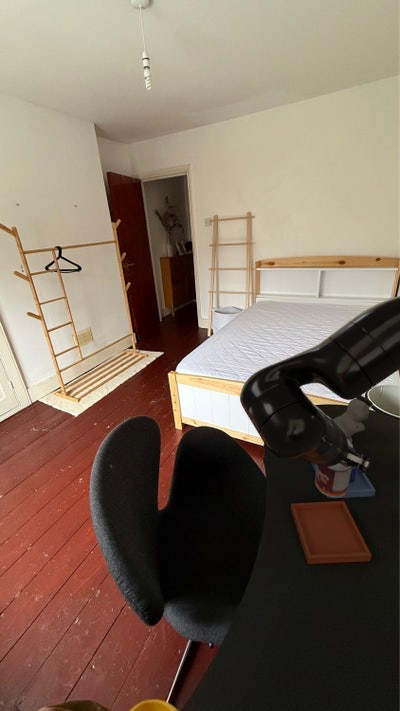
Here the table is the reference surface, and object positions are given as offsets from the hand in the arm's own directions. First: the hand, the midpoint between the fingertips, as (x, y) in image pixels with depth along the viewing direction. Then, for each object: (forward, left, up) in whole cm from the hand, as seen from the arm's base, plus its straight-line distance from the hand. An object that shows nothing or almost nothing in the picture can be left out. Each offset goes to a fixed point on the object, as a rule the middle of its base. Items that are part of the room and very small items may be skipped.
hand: (338, 454), depth 59 cm
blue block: (-8, -11, -19) cm, 23 cm away
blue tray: (-8, -11, -20) cm, 24 cm away
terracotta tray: (+1, +3, -20) cm, 20 cm away
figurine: (-16, -26, -20) cm, 36 cm away
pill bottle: (+1, +1, -8) cm, 8 cm away
